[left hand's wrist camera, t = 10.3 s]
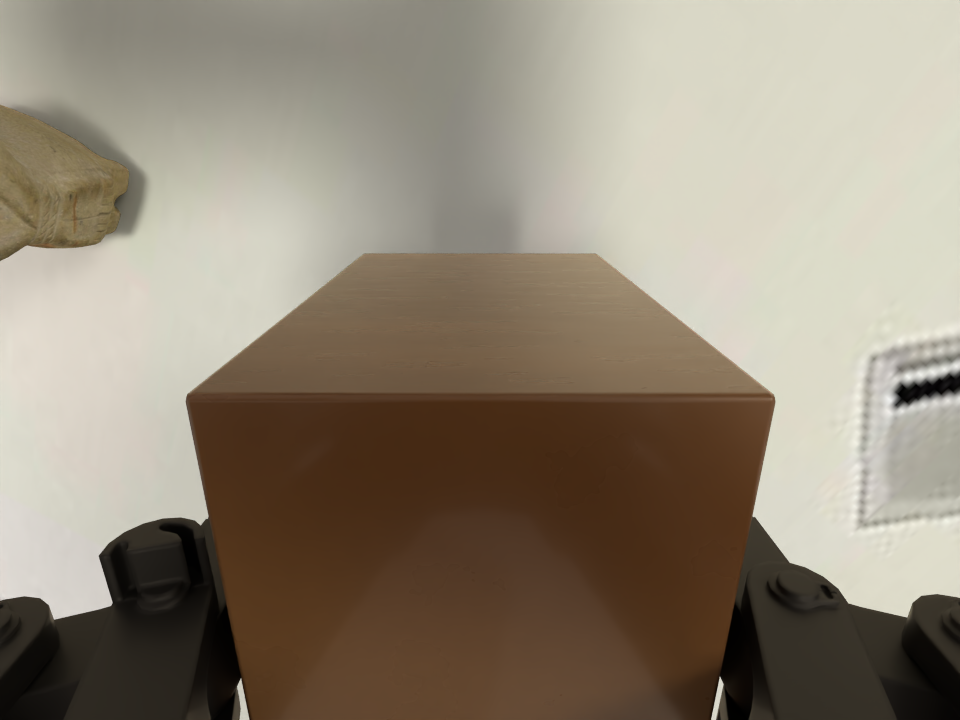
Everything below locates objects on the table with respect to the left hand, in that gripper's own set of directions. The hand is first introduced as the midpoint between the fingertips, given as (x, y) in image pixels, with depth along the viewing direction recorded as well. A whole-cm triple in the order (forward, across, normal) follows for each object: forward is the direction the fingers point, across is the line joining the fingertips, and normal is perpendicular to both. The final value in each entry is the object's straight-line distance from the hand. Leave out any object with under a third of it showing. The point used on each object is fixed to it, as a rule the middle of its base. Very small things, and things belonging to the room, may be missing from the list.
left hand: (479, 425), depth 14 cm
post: (0, 0, -28) cm, 28 cm away
